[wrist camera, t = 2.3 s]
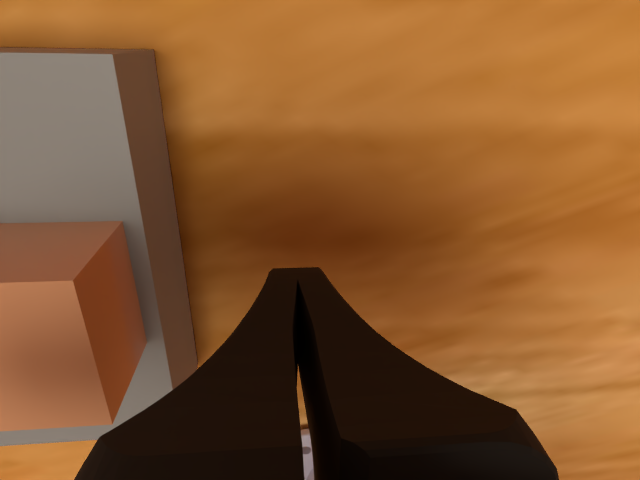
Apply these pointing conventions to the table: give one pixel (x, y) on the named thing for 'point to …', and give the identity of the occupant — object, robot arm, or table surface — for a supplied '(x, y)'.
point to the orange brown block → (66, 324)
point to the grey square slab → (100, 192)
